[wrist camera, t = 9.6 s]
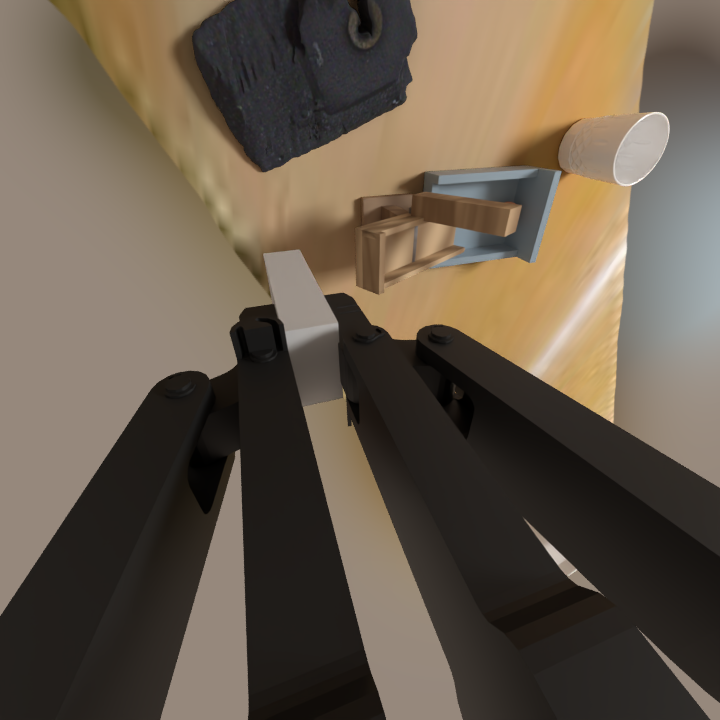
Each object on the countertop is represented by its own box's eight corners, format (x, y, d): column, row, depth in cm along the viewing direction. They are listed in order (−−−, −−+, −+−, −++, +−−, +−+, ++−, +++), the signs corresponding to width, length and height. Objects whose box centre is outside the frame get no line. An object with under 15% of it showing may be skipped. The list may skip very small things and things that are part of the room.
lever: (355, 289, 38) (448, 327, 31) (353, 205, 33) (464, 227, 26) (445, 250, 48) (530, 272, 41) (454, 181, 43) (553, 193, 36)
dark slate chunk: (165, 12, 31) (157, -2, 27) (376, -100, 31) (396, -130, 27) (258, 182, 41) (260, 188, 37) (419, 96, 41) (437, 94, 37)
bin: (417, 259, 52) (439, 276, 47) (424, 171, 45) (451, 179, 40) (505, 248, 56) (535, 262, 51) (524, 165, 49) (561, 170, 44)
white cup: (567, 187, 53) (624, 199, 45) (545, 151, 49) (604, 158, 41) (608, 140, 51) (676, 144, 43) (588, 98, 46) (660, 94, 39)
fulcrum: (361, 250, 49) (380, 268, 43) (361, 197, 45) (381, 209, 39) (406, 244, 50) (429, 261, 44) (409, 193, 46) (436, 204, 40)
